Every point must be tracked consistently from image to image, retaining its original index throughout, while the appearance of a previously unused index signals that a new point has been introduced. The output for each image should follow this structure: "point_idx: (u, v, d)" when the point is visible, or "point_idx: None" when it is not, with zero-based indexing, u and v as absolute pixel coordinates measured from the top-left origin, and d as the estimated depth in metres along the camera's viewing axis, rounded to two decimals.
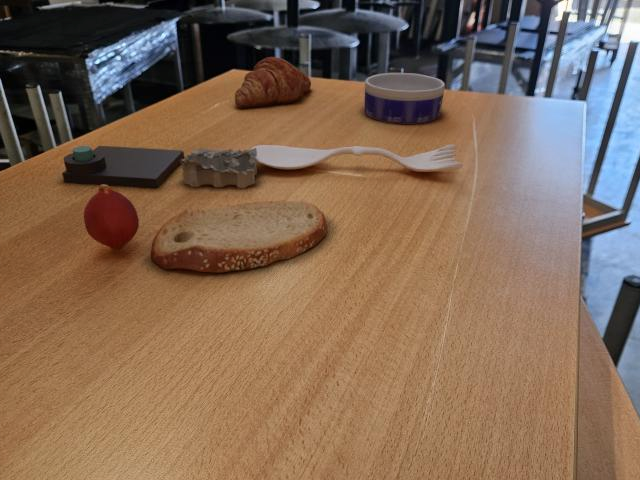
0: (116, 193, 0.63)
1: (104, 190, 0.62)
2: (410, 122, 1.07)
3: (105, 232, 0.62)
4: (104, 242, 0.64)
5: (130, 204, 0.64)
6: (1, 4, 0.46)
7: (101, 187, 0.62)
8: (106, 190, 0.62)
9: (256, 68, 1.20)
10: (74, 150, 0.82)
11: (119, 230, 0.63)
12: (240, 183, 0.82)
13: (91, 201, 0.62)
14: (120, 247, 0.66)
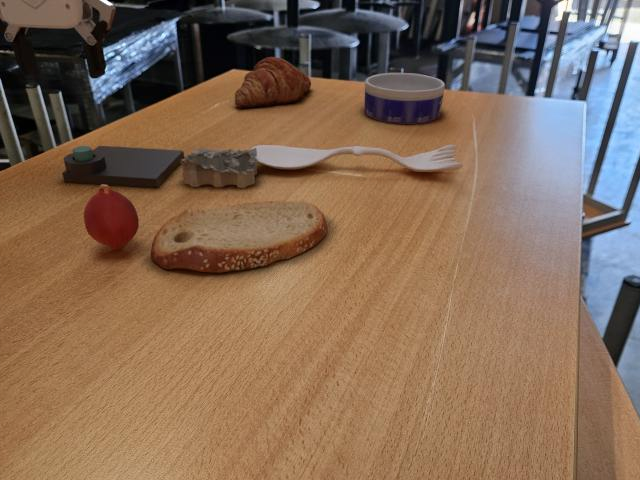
0: (116, 193, 0.63)
1: (104, 190, 0.62)
2: (410, 122, 1.07)
3: (105, 232, 0.62)
4: (104, 242, 0.64)
5: (130, 204, 0.64)
6: (97, 77, 0.75)
7: (101, 187, 0.62)
8: (106, 190, 0.62)
9: (256, 68, 1.20)
10: (74, 150, 0.82)
11: (119, 230, 0.63)
12: (240, 183, 0.82)
13: (91, 201, 0.62)
14: (120, 247, 0.66)
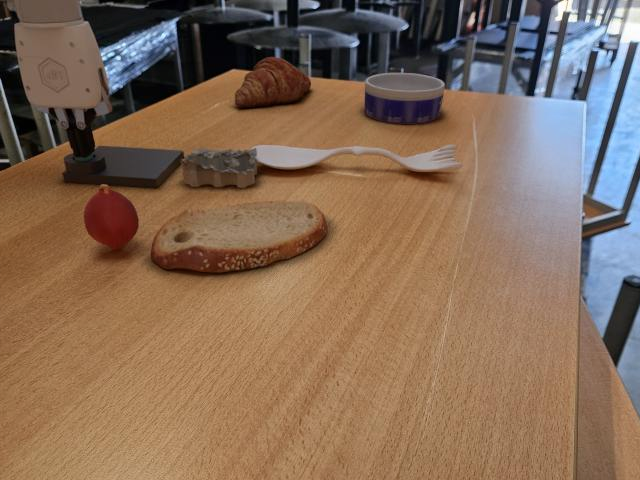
0: (116, 193, 0.63)
1: (104, 190, 0.62)
2: (410, 122, 1.07)
3: (105, 232, 0.62)
4: (104, 242, 0.64)
5: (130, 204, 0.64)
6: (87, 155, 0.82)
7: (101, 187, 0.62)
8: (106, 190, 0.62)
9: (256, 68, 1.20)
10: None
11: (119, 230, 0.63)
12: (240, 183, 0.82)
13: (91, 201, 0.62)
14: (120, 247, 0.66)
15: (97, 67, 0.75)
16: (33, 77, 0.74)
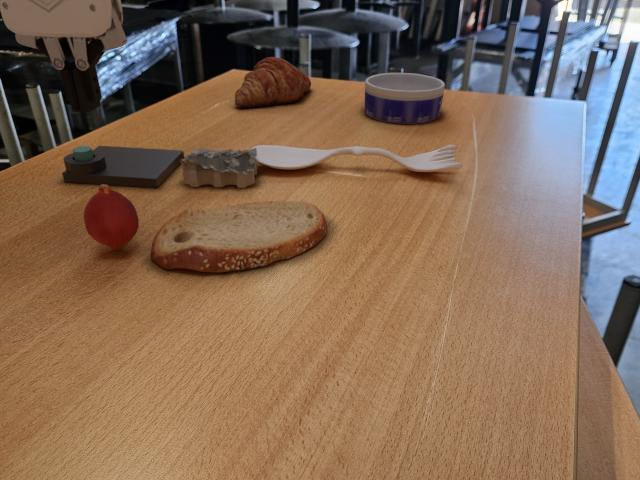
0: (116, 193, 0.63)
1: (104, 190, 0.62)
2: (410, 122, 1.07)
3: (105, 232, 0.62)
4: (104, 242, 0.64)
5: (130, 204, 0.64)
6: (90, 110, 0.58)
7: (101, 187, 0.62)
8: (106, 190, 0.62)
9: (256, 68, 1.20)
10: (74, 150, 0.82)
11: (119, 230, 0.63)
12: (240, 183, 0.82)
13: (91, 201, 0.62)
14: (120, 247, 0.66)
15: None
16: None
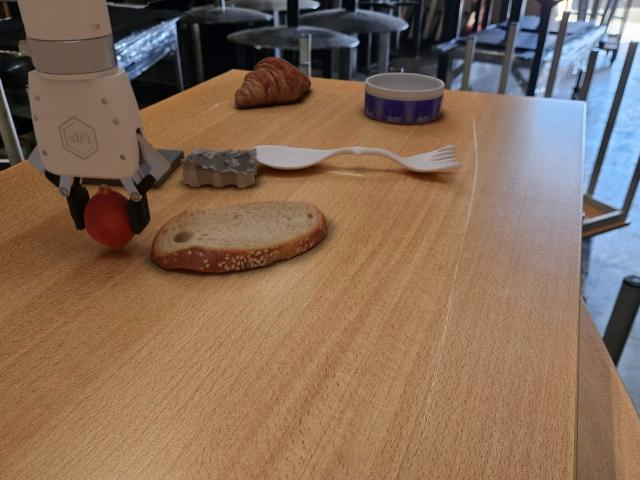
0: (116, 193, 0.63)
1: (104, 190, 0.62)
2: (410, 122, 1.07)
3: (105, 232, 0.62)
4: (104, 242, 0.64)
5: None
6: (141, 231, 0.64)
7: (101, 187, 0.62)
8: (106, 190, 0.62)
9: (256, 68, 1.20)
10: None
11: (119, 230, 0.63)
12: (240, 183, 0.82)
13: (91, 201, 0.62)
14: (120, 247, 0.66)
15: (135, 127, 0.57)
16: (52, 140, 0.57)
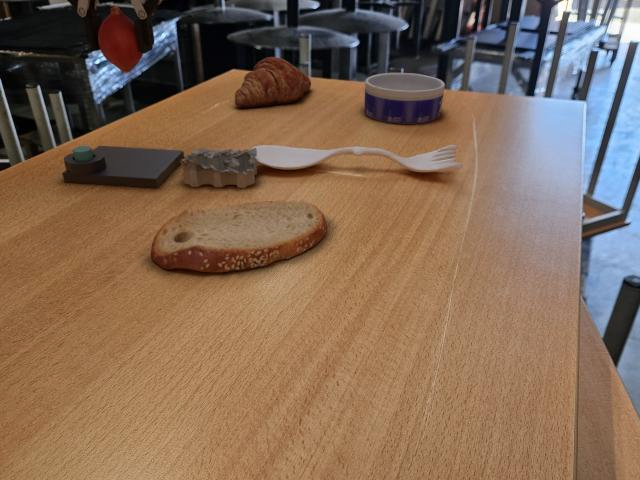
0: (125, 16, 0.74)
1: (115, 11, 0.73)
2: (410, 122, 1.07)
3: (116, 48, 0.74)
4: (115, 59, 0.75)
5: None
6: (146, 51, 0.76)
7: (113, 8, 0.73)
8: (117, 11, 0.73)
9: (256, 68, 1.20)
10: (74, 150, 0.82)
11: (128, 46, 0.74)
12: (240, 183, 0.82)
13: (104, 21, 0.74)
14: (128, 68, 0.77)
15: None
16: None
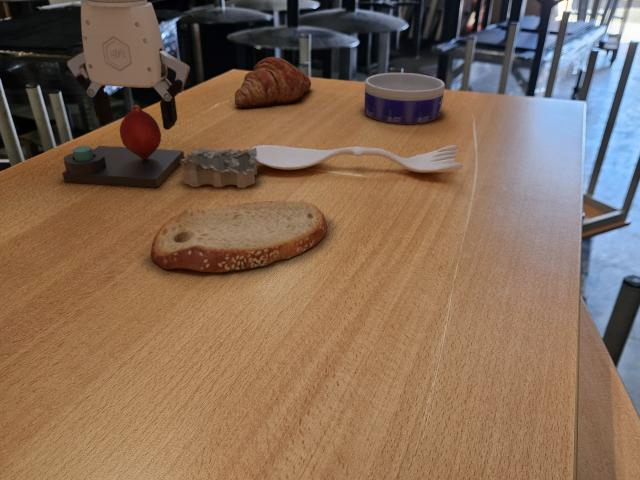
0: (144, 112, 0.83)
1: (136, 109, 0.82)
2: (410, 122, 1.07)
3: (137, 141, 0.83)
4: (135, 150, 0.84)
5: (155, 121, 0.84)
6: (170, 127, 0.83)
7: (134, 106, 0.82)
8: (137, 109, 0.82)
9: (256, 68, 1.20)
10: (74, 150, 0.82)
11: (147, 139, 0.83)
12: (240, 183, 0.82)
13: (126, 117, 0.83)
14: (146, 156, 0.86)
15: (158, 47, 0.77)
16: (96, 56, 0.77)
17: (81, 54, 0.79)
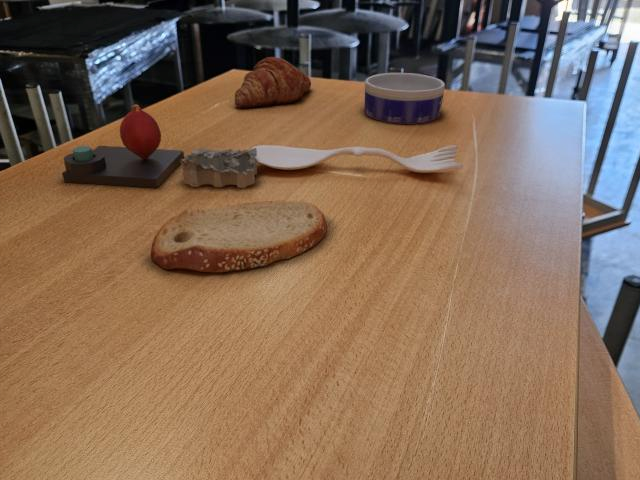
0: (144, 112, 0.83)
1: (136, 109, 0.82)
2: (410, 122, 1.07)
3: (136, 141, 0.83)
4: (135, 150, 0.84)
5: (155, 121, 0.84)
6: None
7: (134, 106, 0.82)
8: (137, 109, 0.82)
9: (256, 68, 1.20)
10: (74, 150, 0.82)
11: (147, 139, 0.83)
12: (240, 183, 0.82)
13: (126, 117, 0.83)
14: (146, 156, 0.86)
15: None
16: None
17: None
